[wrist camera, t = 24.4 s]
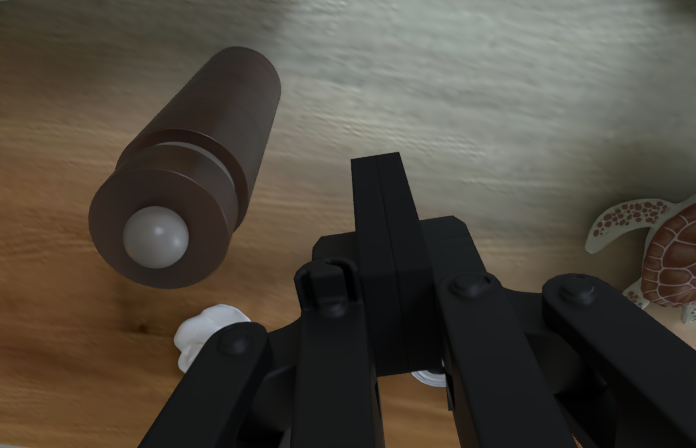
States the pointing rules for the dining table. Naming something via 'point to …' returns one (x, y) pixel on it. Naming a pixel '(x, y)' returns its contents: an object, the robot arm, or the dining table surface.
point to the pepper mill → (188, 175)
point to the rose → (203, 331)
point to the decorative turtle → (656, 250)
